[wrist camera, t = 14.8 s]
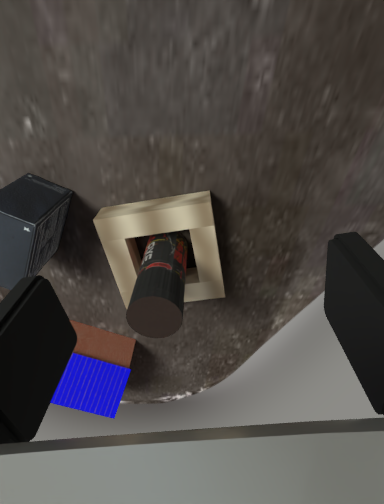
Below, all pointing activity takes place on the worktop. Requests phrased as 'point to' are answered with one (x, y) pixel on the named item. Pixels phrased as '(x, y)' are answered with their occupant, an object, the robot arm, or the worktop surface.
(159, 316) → the deodorant
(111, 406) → the house
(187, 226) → the holder
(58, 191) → the small box
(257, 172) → the worktop surface
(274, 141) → the worktop surface
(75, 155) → the worktop surface
